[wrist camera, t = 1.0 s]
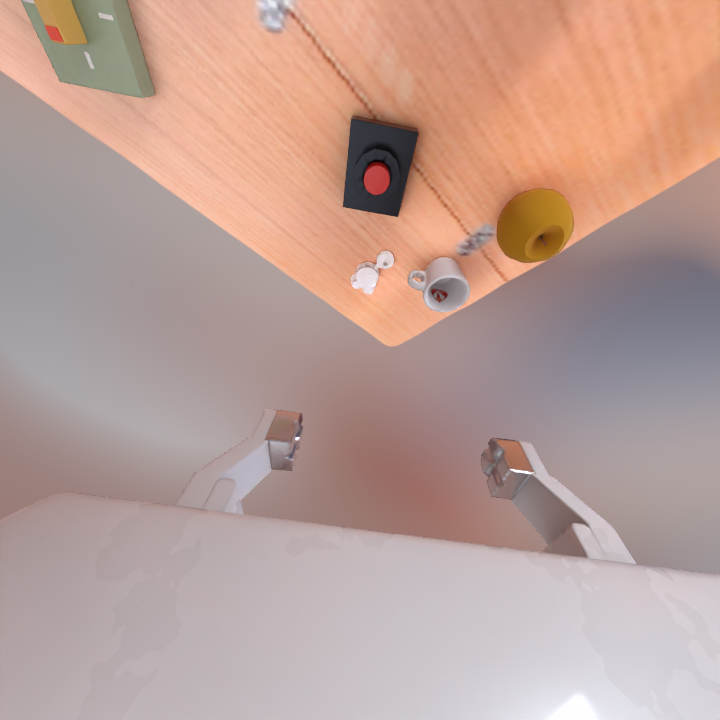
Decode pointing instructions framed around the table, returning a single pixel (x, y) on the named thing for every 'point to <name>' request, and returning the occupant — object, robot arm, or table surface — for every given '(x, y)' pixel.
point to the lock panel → (99, 49)
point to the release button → (376, 178)
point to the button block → (378, 146)
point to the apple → (535, 225)
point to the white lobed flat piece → (371, 272)
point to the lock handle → (61, 21)
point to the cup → (441, 285)
